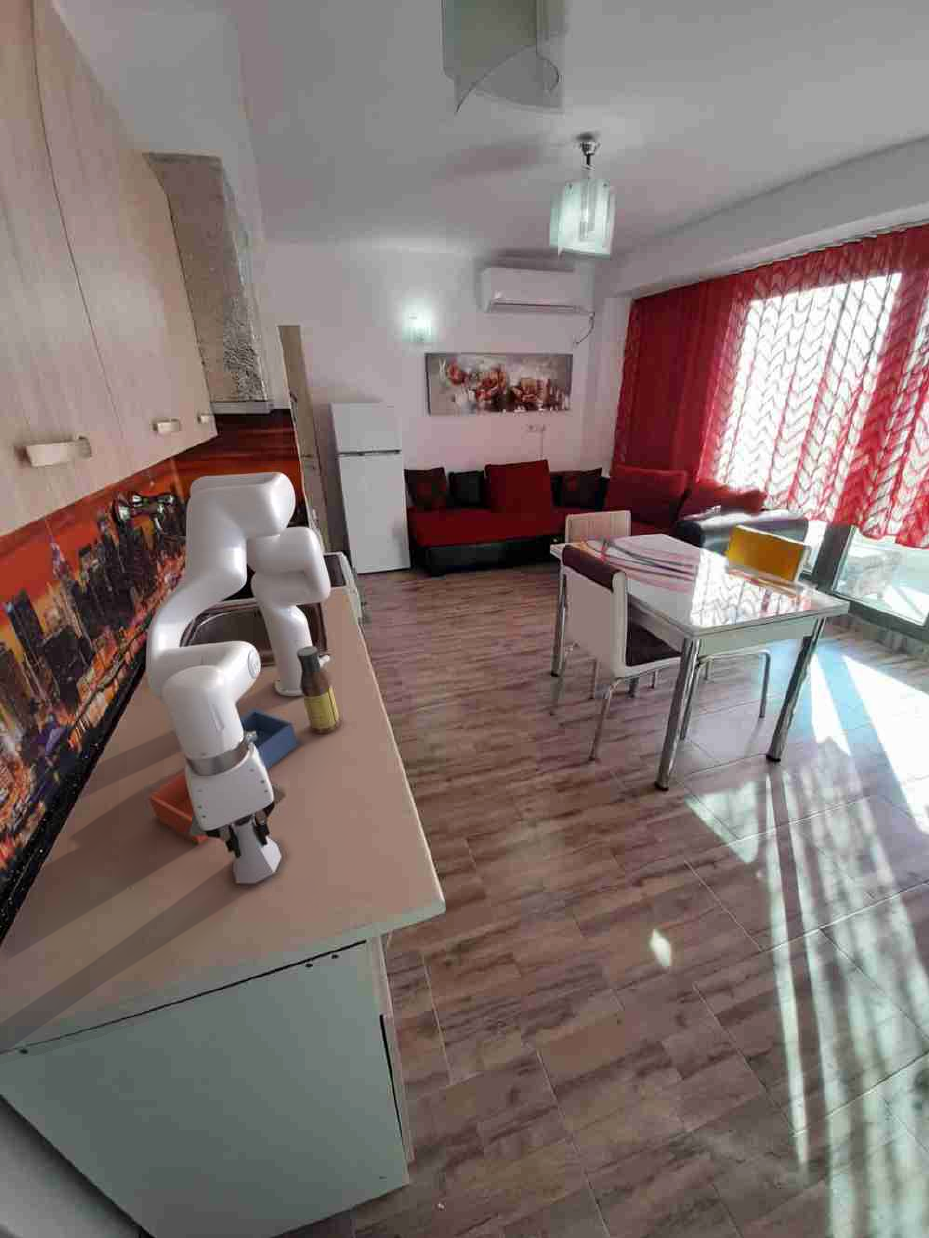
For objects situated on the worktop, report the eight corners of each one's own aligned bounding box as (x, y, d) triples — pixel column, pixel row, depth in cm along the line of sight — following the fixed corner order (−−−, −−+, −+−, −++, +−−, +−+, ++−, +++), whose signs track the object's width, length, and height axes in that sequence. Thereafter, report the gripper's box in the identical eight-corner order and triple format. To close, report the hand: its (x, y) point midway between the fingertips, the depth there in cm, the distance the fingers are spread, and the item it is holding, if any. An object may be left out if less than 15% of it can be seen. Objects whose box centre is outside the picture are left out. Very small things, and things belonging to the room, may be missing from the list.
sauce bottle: (324, 715, 110) (307, 639, 101) (345, 721, 107) (330, 644, 99) (304, 732, 105) (285, 654, 96) (326, 738, 102) (308, 659, 94)
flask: (229, 891, 71) (210, 844, 67) (237, 851, 77) (220, 806, 73) (280, 877, 73) (264, 831, 68) (283, 839, 79) (269, 795, 75)
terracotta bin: (216, 776, 93) (208, 754, 91) (256, 796, 88) (249, 773, 86) (158, 819, 84) (147, 796, 82) (199, 844, 79) (189, 820, 77)
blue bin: (260, 729, 106) (254, 709, 104) (297, 744, 101) (292, 723, 99) (214, 763, 97) (206, 741, 95) (252, 781, 92) (245, 758, 89)
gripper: (273, 716, 72) (298, 805, 80) (149, 759, 64) (190, 853, 72) (285, 743, 66) (310, 836, 74) (149, 794, 59) (193, 891, 66)
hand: (250, 843), depth 73 cm, fingers closed on flask, 3 cm apart
